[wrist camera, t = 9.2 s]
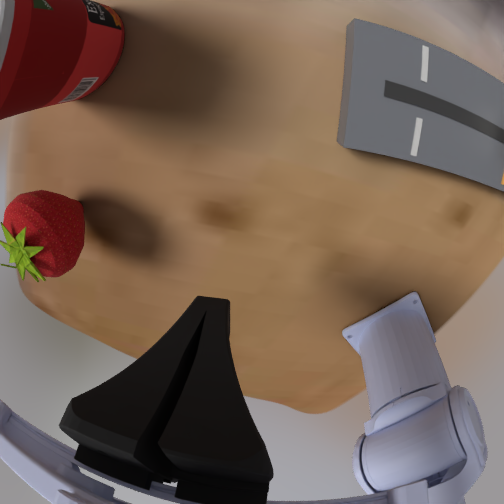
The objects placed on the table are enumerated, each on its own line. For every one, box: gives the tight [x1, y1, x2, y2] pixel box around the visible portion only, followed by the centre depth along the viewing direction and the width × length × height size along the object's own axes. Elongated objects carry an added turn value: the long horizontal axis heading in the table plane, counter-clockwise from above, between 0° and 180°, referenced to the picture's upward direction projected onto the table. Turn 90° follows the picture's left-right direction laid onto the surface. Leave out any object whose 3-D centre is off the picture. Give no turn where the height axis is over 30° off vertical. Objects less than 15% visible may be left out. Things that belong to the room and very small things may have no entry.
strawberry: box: [0, 190, 85, 282], centre depth 16 cm, size 6×8×10 cm
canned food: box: [0, 0, 125, 120], centre depth 8 cm, size 8×8×11 cm
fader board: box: [337, 18, 504, 192], centre depth 12 cm, size 19×8×2 cm, turn 87°
